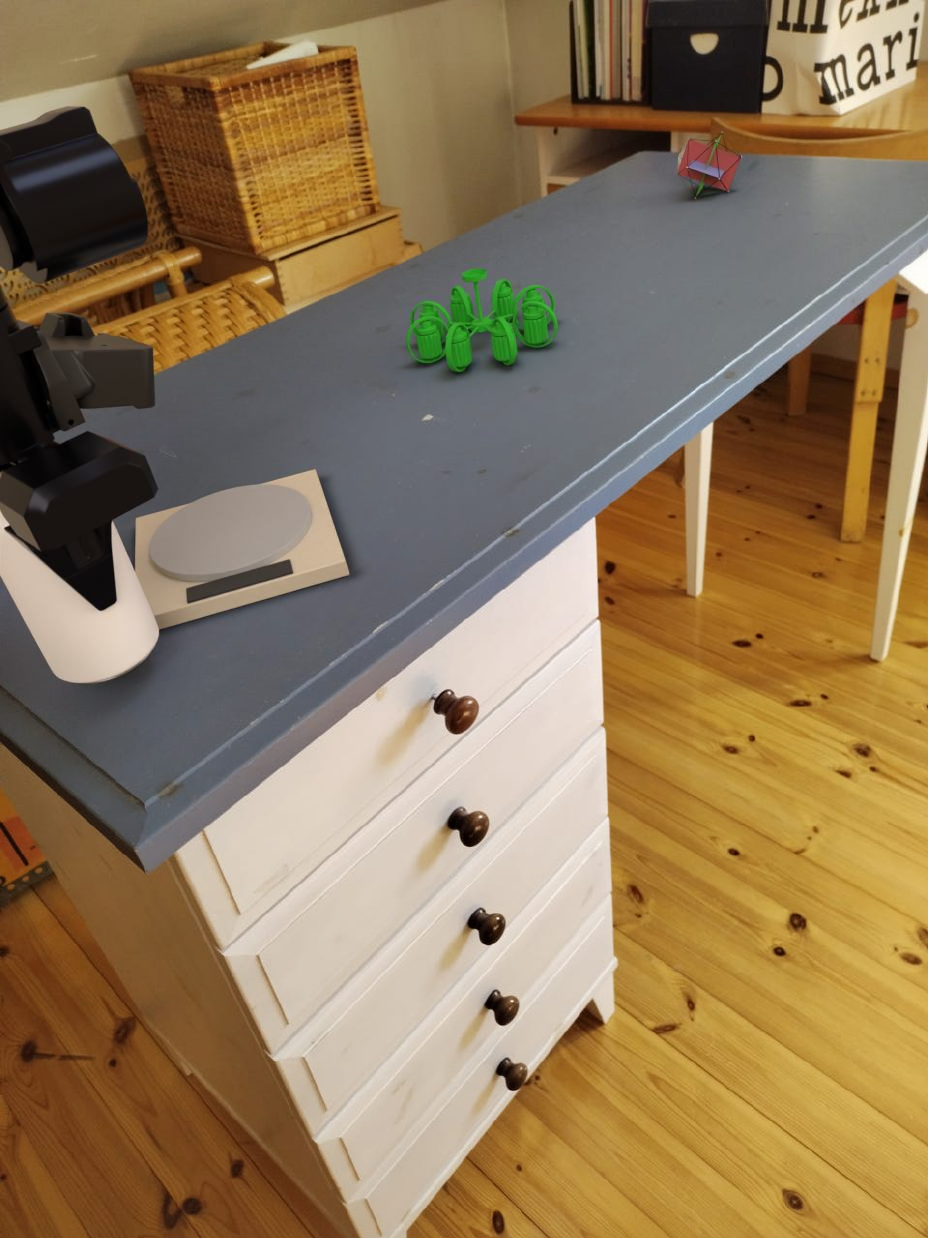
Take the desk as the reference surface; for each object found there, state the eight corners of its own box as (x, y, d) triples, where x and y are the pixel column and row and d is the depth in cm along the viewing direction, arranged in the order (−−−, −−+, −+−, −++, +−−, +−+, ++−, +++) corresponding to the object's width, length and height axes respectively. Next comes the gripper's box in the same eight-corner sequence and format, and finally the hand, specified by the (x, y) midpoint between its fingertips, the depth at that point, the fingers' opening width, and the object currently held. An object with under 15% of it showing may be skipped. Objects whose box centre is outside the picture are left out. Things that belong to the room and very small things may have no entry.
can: (177, 616, 59) (104, 440, 51) (138, 686, 53) (51, 502, 46) (81, 622, 60) (-4, 451, 53) (34, 691, 55) (-67, 512, 47)
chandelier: (380, 377, 88) (364, 303, 84) (447, 314, 99) (435, 246, 94) (530, 382, 82) (520, 304, 78) (584, 315, 93) (578, 242, 88)
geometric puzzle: (757, 163, 117) (718, 109, 115) (748, 179, 112) (707, 123, 110) (710, 202, 122) (671, 151, 120) (699, 219, 117) (659, 166, 115)
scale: (140, 635, 61) (130, 613, 60) (141, 531, 72) (132, 510, 71) (349, 575, 63) (343, 552, 62) (319, 482, 74) (313, 461, 73)
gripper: (195, 283, 43) (287, 566, 52) (22, 244, 54) (123, 482, 64) (-43, 381, 37) (109, 679, 46) (-179, 314, 49) (-35, 563, 58)
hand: (79, 586), depth 54 cm, fingers closed on can, 6 cm apart
